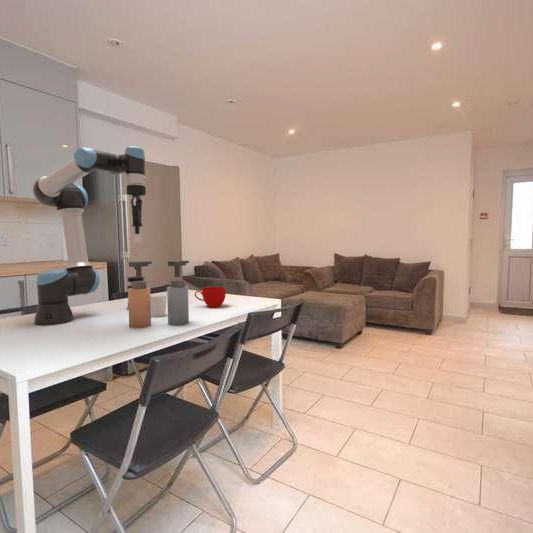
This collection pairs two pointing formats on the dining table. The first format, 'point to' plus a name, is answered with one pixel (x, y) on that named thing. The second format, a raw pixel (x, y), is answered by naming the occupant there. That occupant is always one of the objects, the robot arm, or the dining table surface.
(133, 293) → the terracotta pump bottle
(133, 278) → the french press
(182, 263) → the slate pump head
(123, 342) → the dining table surface
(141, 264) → the grey dispenser pump
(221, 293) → the ceramic cup
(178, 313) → the slate pump bottle
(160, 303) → the white cup
